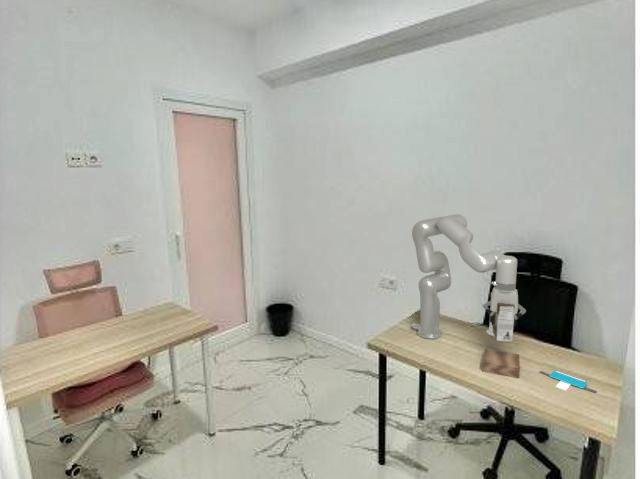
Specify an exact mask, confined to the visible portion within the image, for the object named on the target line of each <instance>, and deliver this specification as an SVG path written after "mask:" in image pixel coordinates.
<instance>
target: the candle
mask: <svg viewBox="0 0 640 479" xmlns="http://www.w3.org/2000/svg"><path fill="white" fill-rule="evenodd" d="M491 296H492V292H491V293H490V297H491ZM489 306H490V308H489V309H490V310H491V305H489ZM488 324H489V325H488V326H489V327H488V328H489V329H486V330H485V332H486V334H487V335H488V336H490V337H495V336H494V333H493V331H492V328H493V325H492V322H490V321H489V323H488Z"/></svg>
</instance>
